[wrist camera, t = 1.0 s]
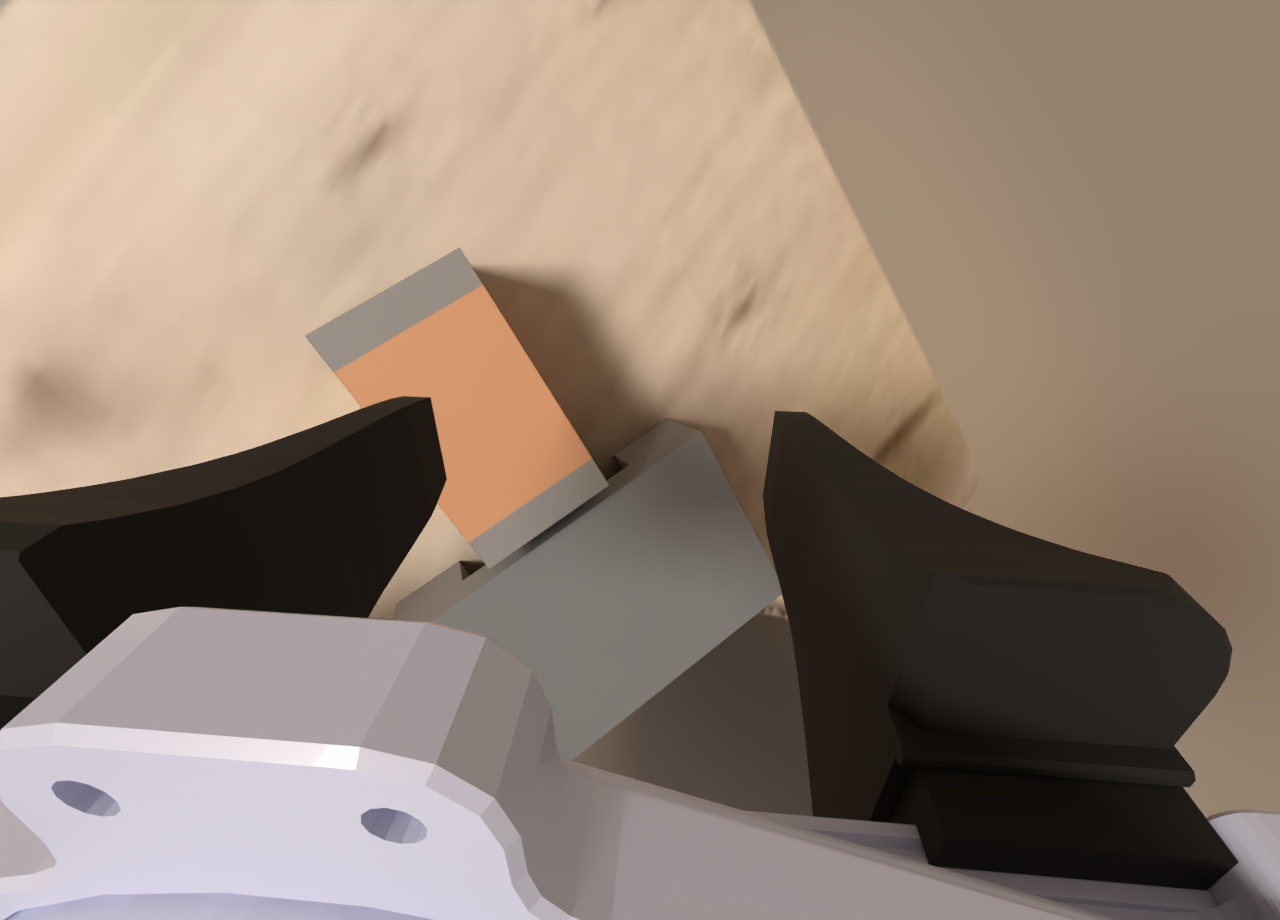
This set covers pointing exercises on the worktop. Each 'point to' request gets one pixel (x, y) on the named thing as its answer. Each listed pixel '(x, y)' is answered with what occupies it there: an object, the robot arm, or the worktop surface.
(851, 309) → the worktop surface
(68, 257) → the worktop surface
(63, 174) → the worktop surface
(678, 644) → the stand
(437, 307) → the block
